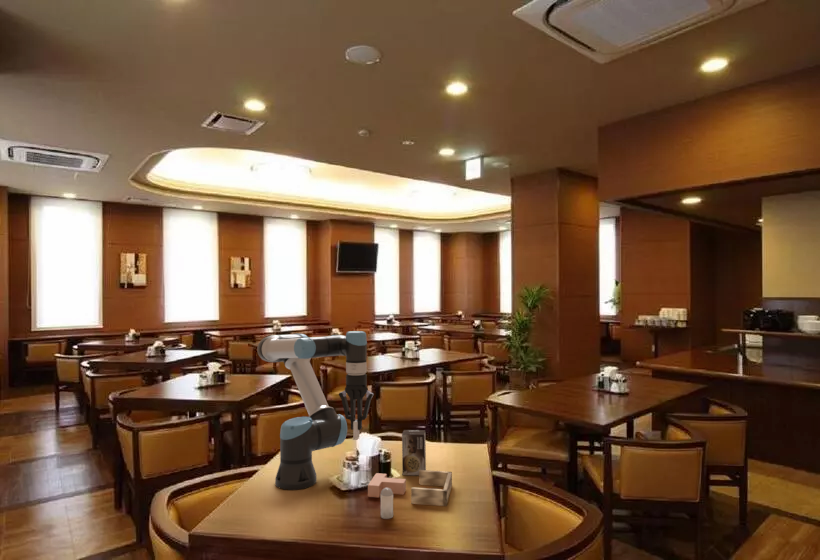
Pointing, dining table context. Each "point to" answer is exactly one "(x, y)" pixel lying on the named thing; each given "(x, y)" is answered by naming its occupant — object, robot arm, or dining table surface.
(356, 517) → the dining table surface
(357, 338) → the robot arm
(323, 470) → the dining table surface
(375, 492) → the t block
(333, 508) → the dining table surface
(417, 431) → the coffee box
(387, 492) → the cylinder
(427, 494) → the bay
